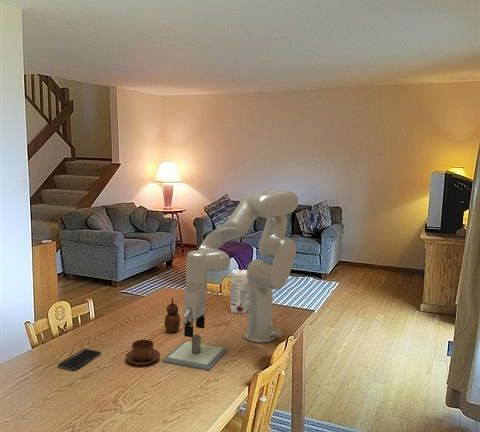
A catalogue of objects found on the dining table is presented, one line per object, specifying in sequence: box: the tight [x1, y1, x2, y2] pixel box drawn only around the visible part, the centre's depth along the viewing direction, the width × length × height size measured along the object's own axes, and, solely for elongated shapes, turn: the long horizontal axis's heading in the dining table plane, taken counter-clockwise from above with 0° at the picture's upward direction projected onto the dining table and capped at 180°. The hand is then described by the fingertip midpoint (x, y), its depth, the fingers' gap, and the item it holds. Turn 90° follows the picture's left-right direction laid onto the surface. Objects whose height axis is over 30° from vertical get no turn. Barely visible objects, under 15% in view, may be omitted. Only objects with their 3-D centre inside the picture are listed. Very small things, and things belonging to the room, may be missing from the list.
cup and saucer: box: [125, 339, 161, 366], centre depth 173 cm, size 12×12×6 cm
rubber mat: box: [161, 341, 229, 372], centre depth 177 cm, size 18×18×1 cm
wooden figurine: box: [164, 296, 181, 333], centre depth 199 cm, size 7×6×15 cm
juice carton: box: [229, 269, 249, 314], centre depth 225 cm, size 8×9×19 cm
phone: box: [57, 348, 102, 372], centre depth 171 cm, size 8×1×15 cm
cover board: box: [168, 334, 224, 366], centre depth 177 cm, size 15×15×7 cm
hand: (194, 332), depth 175 cm, fingers open, 9 cm apart
